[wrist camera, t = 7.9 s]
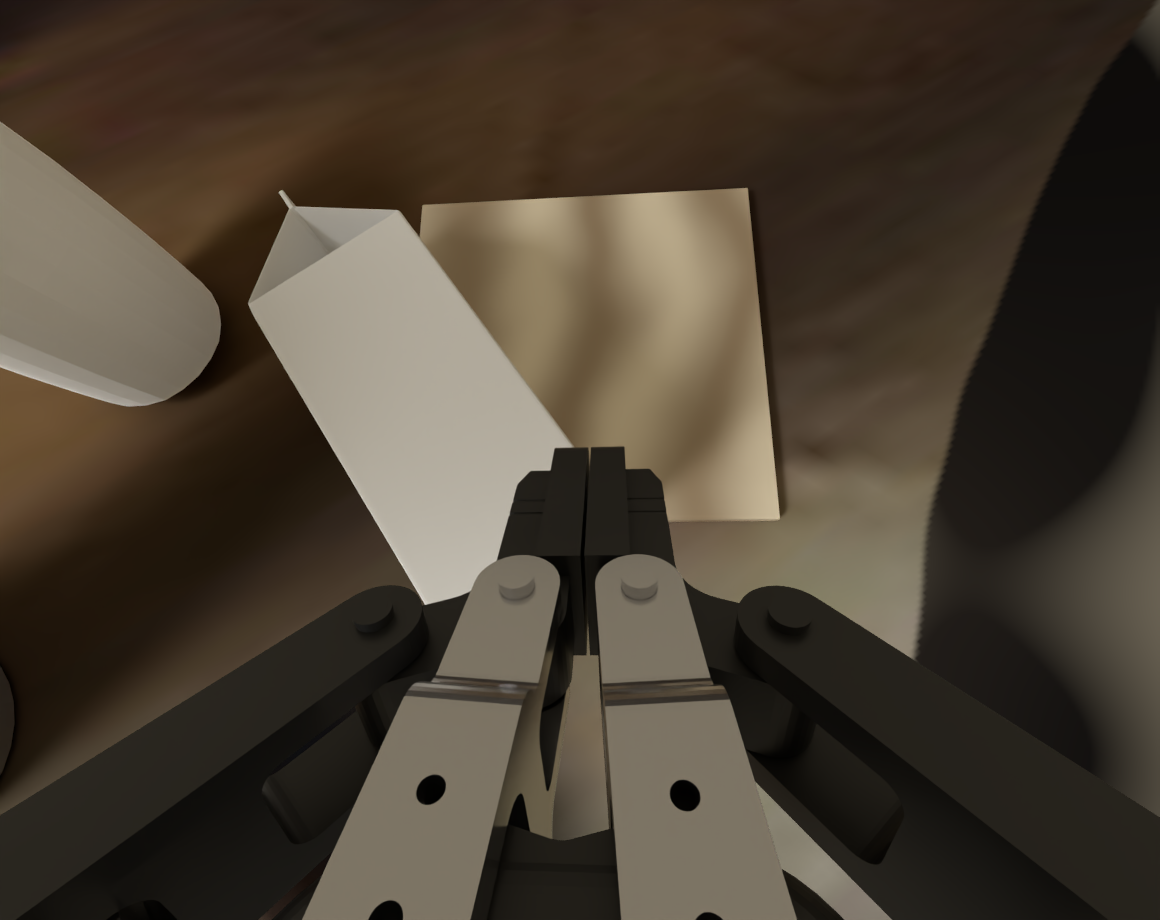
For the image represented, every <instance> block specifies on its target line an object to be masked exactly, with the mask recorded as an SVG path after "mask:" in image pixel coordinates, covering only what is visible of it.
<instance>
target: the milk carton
mask: <svg viewBox="0 0 1160 920" xmlns="http://www.w3.org/2000/svg"><path fill="white" fill-rule="evenodd" d="M279 194H280V196H281V197H282V198H283V200H284V201H285V203H286V204H287V206H288V207H289V210H288V213H287V215H286V217H285V219H284V222H283V224H282V226H281V229H280V231H279V233H278V235H277V238H276V240H275V242H274V244H273V247H272V249H271V251H270V254H269V256H268V258H267V260H266V263H265V265H264V267H263V269H262V272H261V274H260V276H259V279H258V281H257V283H256V285H255V288H254V290H253V292H252V295H251V297H250V299H249V302H248V305H249V307H250V309H251V312H252V314H253V316H254V317H255V319H256V321H257V323H258V324H259V326H260V328H261V330H262V331H263V333H264V335H265V336H266V338H267V340H268V341H269V343H270V345H271V346H272V348H273V350H274V351H275V353H276V355H277V357H278V358H279V360H280V362H281V363H282V365H283V367H284V368H285V370H286V372H287V373H288V375H289V377H290V378H291V380H292V382H293V383H294V385H295V387H296V388H297V390H298V392H299V393H300V395H301V397H302V399H303V400H304V402H305V404H306V405H307V407H308V409H309V410H310V412H311V414H312V415H313V417H314V419H315V420H316V422H317V424H318V425H319V427H320V429H321V430H322V432H323V434H324V435H325V437H326V439H327V441H328V442H329V444H330V446H331V447H332V449H333V451H334V452H335V454H336V456H337V457H338V459H339V461H340V462H341V464H342V466H343V467H344V469H345V471H346V472H347V474H348V476H349V477H350V479H351V481H352V483H353V484H354V486H355V488H356V489H357V491H358V493H359V494H360V496H361V498H362V499H363V501H364V503H365V504H366V506H367V508H368V509H369V511H370V513H371V514H372V516H373V518H374V520H375V521H376V523H377V525H378V526H379V528H380V530H381V531H382V533H383V535H384V536H385V538H386V540H387V541H388V543H389V545H390V546H391V548H392V550H393V551H394V553H395V555H396V556H397V558H398V560H399V562H400V563H401V565H402V567H403V568H404V570H405V572H406V573H407V575H408V577H409V578H410V580H411V582H412V583H413V585H414V587H415V588H416V590H417V592H418V593H419V595H420V597H421V598H422V600H423V602H424V604H425V605H427V604H431V603H435V602H439V601H443V600H447V599H451V598H454V597H458V596H460V595H463V594H465V593H468V592H469V591H471V589H472V587H473V584H474V582H475V580H476V578H477V576H478V575H479V574H480V573H481V571H483V570H484V569H485V568H486V567H487V566H489V565H490V564H492V563H494V562H496V561H497V557H498V554H499V550H500V546H501V543H502V539H503V535H504V532H505V528H506V524H507V521H508V517H509V516H510V510H511V506H512V503H513V499H514V495H515V491H516V488H517V484H518V483H519V482H520V481H521V480H522V479H523V478H524V477H525V476H526V475H527V474H528V473H529V472H530V471H549V470H551V465H552V459H553V454H554V449H555V448H570V447H574V446H573V444H572V443H571V442H570V440H569V439H568V438H567V436H566V435H565V434H564V432H563V431H562V429H561V428H560V427H559V425H558V424H557V423H556V421H555V420H554V419H553V417H552V416H551V415H550V413H549V412H548V411H547V409H546V408H545V406H544V405H543V404H542V402H541V401H540V400H539V398H538V397H537V396H536V394H535V393H534V392H533V390H532V389H531V388H530V386H529V385H528V383H527V382H526V381H525V379H524V378H523V377H522V375H521V374H520V373H519V371H518V370H517V369H516V367H515V366H514V365H513V363H512V362H511V361H510V359H509V358H508V356H507V355H506V354H505V352H504V351H503V350H502V348H501V347H500V346H499V344H498V343H497V342H496V340H495V339H494V338H493V336H492V335H491V333H490V332H489V331H488V329H487V328H486V327H485V325H484V324H483V323H482V321H481V320H480V319H479V317H478V316H477V315H476V313H475V312H474V310H473V309H472V308H471V306H470V305H469V304H468V302H467V301H466V300H465V298H464V297H463V296H462V294H461V293H460V292H459V290H458V289H457V287H456V286H455V285H454V283H453V282H452V281H451V279H450V278H449V277H448V275H447V274H446V273H445V271H444V270H443V269H442V267H441V266H440V264H439V263H438V262H437V260H436V259H435V258H434V256H433V255H432V254H431V252H430V251H429V250H428V248H427V247H426V246H425V244H424V243H423V242H422V240H421V239H420V237H419V236H418V235H417V233H416V232H415V231H414V229H413V228H412V227H411V225H410V224H409V223H408V221H407V220H406V219H405V217H404V216H403V214H402V213H401V212H400V211H399V210H380V209H351V208H322V207H296V206H295V204H294V203H293V202H292V201H291V200H290V198H289V197H288V196H287V195H286V193H285V192H284V191H283V190H281V191H279Z"/></svg>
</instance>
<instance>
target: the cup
mask: <svg viewBox="0 0 1160 920" xmlns="http://www.w3.org/2000/svg"><path fill="white" fill-rule="evenodd" d="M220 329H221V320H220V313H219V307H218V305H217V303H216V301H215V299H214V297H213V295H212V293H211V292H210V291H209V290H208V289H207V288H206V287H205V285H204V284H203V283H202V282H201V281H200V280H199V279H197V278H196V277H195V276H194V275H193V274H192V273H191V272H190V271H188V270H187V269H186V268H185V267H184V266H183V265H182V264H181V263H180V262H178V261H177V260H176V259H175V258H174V257H172V256H171V255H170V254H169V253H168V252H167V251H165V250H164V249H163V248H162V247H161V246H160V245H158V244H157V243H156V242H155V241H154V240H153V239H151V238H150V237H149V236H148V235H147V234H145V233H144V232H143V231H142V230H141V229H139V228H138V227H137V226H136V225H134V224H133V223H132V222H131V221H130V220H128V219H127V218H126V217H125V216H123V215H122V214H121V213H120V212H118V211H117V210H116V209H115V208H114V207H112V206H111V205H110V204H109V203H107V202H106V201H105V200H104V199H102V198H101V197H100V196H99V195H97V194H96V193H95V192H93V191H92V190H91V189H90V188H88V187H87V186H86V185H84V184H83V183H82V182H81V181H79V180H78V179H77V178H76V177H74V176H73V175H72V174H70V173H69V172H68V171H67V170H65V169H64V168H63V167H61V166H60V165H59V164H58V163H56V162H55V161H54V160H52V159H51V158H50V157H48V156H47V155H46V154H44V153H43V152H41V151H40V150H39V149H37V148H36V147H35V146H33V145H32V144H30V143H29V142H28V141H26V140H25V139H23V138H22V137H21V136H19V135H18V134H17V133H15V132H14V131H12V130H11V129H10V128H8V127H7V126H6V125H4V124H3V123H1V122H0V367H1V368H4V369H7V370H10V371H13V372H15V373H18V374H21V375H24V376H27V377H30V378H33V379H36V380H39V381H42V382H45V383H49V384H52V385H55V386H58V387H61V388H64V389H67V390H70V391H73V392H76V393H79V394H83V395H86V396H90V397H93V398H96V399H100V400H103V401H106V402H110V403H114V404H118V405H123V406H127V407H129V406H144V405H150V404H154V403H157V402H161V401H165V400H167V399H168V398H170V397H172V396H173V395H175V394H177V393H178V392H180V391H182V390H183V389H184V388H185V387H187V386H188V385H189V384H190V383H191V382H192V381H193V380H194V379H196V378H197V377H198V376H199V375H200V373H201V372H202V371H203V369H204V368H205V367H206V365H207V364H208V362H209V361H210V360H211V358H212V356H213V354H214V351H215V349H216V347H217V345H218V343H219V338H220Z"/></svg>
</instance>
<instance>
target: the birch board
mask: <svg viewBox="0 0 1160 920" xmlns="http://www.w3.org/2000/svg"><path fill="white" fill-rule="evenodd" d="M420 239H421V240H422V242H423V243H424V244H425V246H426V247H427V248H428V250H429V251H430V252H431V254H432V255H433V256H434V258H435V259H436V260H437V262H438V263H439V264H440V266H441V267H442V269H443V270H444V271H445V273H446V274H447V275H448V277H449V278H450V279H451V281H452V282H453V283H454V285H455V286H456V287H457V289H458V290H459V292H460V293H461V294H462V296H463V297H464V298H465V300H466V301H467V302H468V304H469V305H470V306H471V308H472V309H473V310H474V312H475V313H476V315H477V316H478V317H479V319H480V320H481V321H482V323H483V324H484V325H485V327H486V328H487V329H488V331H489V332H490V333H491V335H492V336H493V338H494V339H495V340H496V342H497V343H498V344H499V346H500V347H501V348H502V350H503V351H504V352H505V354H506V355H507V356H508V358H509V359H510V361H511V362H512V363H513V365H514V366H515V367H516V369H517V370H518V371H519V373H520V374H521V375H522V377H523V378H524V379H525V381H526V382H527V383H528V385H529V386H530V388H531V389H532V390H533V392H534V393H535V394H536V396H537V397H538V398H539V400H540V401H541V402H542V404H543V405H544V406H545V408H546V409H547V411H548V412H549V413H550V415H551V416H552V417H553V419H554V420H555V421H556V423H557V424H558V425H559V427H560V428H561V429H562V431H563V432H564V434H565V435H566V436H567V438H568V439H569V440H570V442H571V443H572V444H573V446H574V447H588V448H589V461H590V454H591V447H615V446H624V447H625V465H626V469H651V471H652V472H653V473H654V474H655V475H656V476H657V477H658V478H659V479H660V480H661V482H662V486H663V492H664V501H665V505H666V514H667V517H668V522H716V521H777V520H779V519H780V514H779V504H778V494H777V483H776V473H775V463H774V453H773V443H772V432H771V422H770V412H769V402H768V392H767V381H766V371H765V361H764V351H763V340H762V330H761V320H760V310H759V300H758V289H757V279H756V269H755V259H754V249H753V238H752V228H751V218H750V208H749V198H748V188H738V189H719V190H700V191H681V192H661V193H642V194H623V195H604V196H585V197H566V198H547V199H528V200H509V201H489V202H470V203H451V204H432V205H422V216H421V228H420Z"/></svg>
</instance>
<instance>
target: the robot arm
mask: <svg viewBox="0 0 1160 920" xmlns="http://www.w3.org/2000/svg"><path fill="white" fill-rule="evenodd" d="M588 627H589V644H590V655H598V656H599V676H600V700H601V714H602V729H603V744H604V758H605V773H606V788H607V802H608V818H609V829H608V830H604V831H601V832H597V833H593V834H589V835H586V836H582V837H578V838H575V839H571V840H565V841H560V840H554V839H552V816H553V804H554V797H555V790H556V784H557V777H558V771H559V764H560V758H561V751H562V745H563V738H564V732H565V726H566V719H567V713H568V706H569V700H570V682H571V678H572V669H573V655H586V653H587V631H588ZM353 707H356V710H357V711H356V712H355V713H354V714H352V715H351V716H350V717H348V718H347V719H346V720H345V721H343V722H342V723H341V724H339V725H338V726H337V727H336V728H334V729H333V730H332V731H330V732H329V733H328V734H326V735H325V736H324V737H323V738H321V739H320V740H319V741H317V742H316V743H315V744H314V745H312V746H311V747H310V748H308V749H307V750H306V751H305V752H303V753H302V754H301V755H299V756H298V757H297V758H295V759H294V760H293V761H292V762H290V763H289V764H288V765H286V766H285V767H284V768H283V769H281V770H280V771H278V772H277V773H275V774H273V775H271V776H269V775H270V774H271V773H272V771H273V770H274V769H275V768H276V767H277V766H278V765H279V764H280V763H282V762H283V761H284V760H285V759H287V758H288V757H289V756H291V755H292V754H293V753H294V752H296V751H297V750H298V749H300V748H301V747H302V746H304V745H305V744H306V743H308V742H309V741H310V740H311V739H313V738H314V737H315V736H317V735H318V734H319V733H321V732H322V731H323V730H325V729H326V728H327V727H328V726H330V725H331V724H332V723H334V722H335V721H336V720H338V719H339V718H340V717H342V716H343V715H344V714H345V713H347V712H348V711H349V710H351V709H352V708H353ZM13 730H14V701H13V697H12V693H11V689H10V685H9V682H8V680H7V678H6V676H5V674H4V672H3V670H2V669H1V667H0V775H1V773H2V771H3V769H4V766H5V763H6V760H7V757H8V754H9V751H10V748H11V743H12V736H13ZM268 776H269V777H268ZM755 782H756V783H757V784H758V785H759V786H760V787H761V788H762V789H763V790H764V791H765V792H766V793H767V794H768V795H769V796H770V797H771V798H772V799H773V800H774V801H775V802H776V803H777V804H778V805H779V806H780V807H781V808H782V809H783V810H784V811H785V812H786V813H787V814H788V815H789V816H790V817H791V818H792V819H793V820H794V821H795V822H796V823H797V824H798V825H799V826H800V827H801V828H802V829H803V830H804V831H805V832H806V833H807V834H808V835H809V836H810V837H811V838H812V839H813V840H814V841H815V842H816V843H817V844H818V845H819V846H820V847H821V848H822V849H823V850H824V851H825V852H826V853H827V854H828V855H829V856H830V857H831V858H832V859H833V860H834V861H835V862H836V863H837V864H838V865H839V866H840V867H841V868H842V869H843V870H844V871H845V872H846V873H847V875H848V876H849V877H850V878H851V879H852V880H853V881H854V882H855V883H856V884H857V885H858V886H859V887H860V888H861V889H862V890H863V891H864V892H865V893H866V894H867V895H868V896H869V897H870V898H871V899H872V900H873V901H874V902H875V903H876V904H877V905H878V906H879V907H880V908H881V909H882V910H883V911H884V912H885V913H886V914H887V915H888V916H889V917H890V918H891V919H892V920H1160V817H1158V816H1156V815H1155V814H1153V813H1152V812H1150V811H1149V810H1147V809H1146V808H1144V807H1143V806H1141V805H1139V804H1138V803H1136V802H1135V801H1133V800H1132V799H1130V798H1128V797H1127V796H1125V795H1124V794H1122V793H1121V792H1119V791H1117V790H1116V789H1114V788H1113V787H1111V786H1110V785H1108V784H1107V783H1105V782H1103V781H1102V780H1100V779H1099V778H1097V777H1096V776H1094V775H1093V774H1091V773H1089V772H1088V771H1086V770H1085V769H1083V768H1082V767H1080V766H1078V765H1077V764H1075V763H1074V762H1072V761H1071V760H1069V759H1068V758H1066V757H1064V756H1063V755H1061V754H1060V753H1058V752H1057V751H1055V750H1053V749H1052V748H1050V747H1049V746H1047V745H1046V744H1044V743H1042V742H1041V741H1039V740H1038V739H1036V738H1034V737H1033V736H1031V735H1030V734H1028V733H1027V732H1025V731H1024V730H1022V729H1021V728H1019V727H1018V726H1016V725H1014V724H1013V723H1011V722H1010V721H1008V720H1007V719H1005V718H1003V717H1002V716H1000V715H999V714H997V713H996V712H994V711H993V710H991V709H989V708H988V707H986V706H985V705H983V704H981V703H980V702H978V701H977V700H975V699H974V698H972V697H971V696H969V695H967V694H966V693H964V692H963V691H961V690H960V689H958V688H957V687H955V686H953V685H952V684H950V683H949V682H947V681H945V680H944V679H943V678H941V677H939V676H938V675H936V674H935V673H933V672H932V671H930V670H928V669H927V668H925V667H924V666H922V665H921V664H919V663H918V662H916V661H914V660H913V659H911V658H910V657H908V656H907V655H905V654H903V653H902V652H900V651H899V650H897V649H896V648H894V647H893V646H891V645H889V644H888V643H886V642H885V641H883V640H882V639H880V638H878V637H877V636H875V635H874V634H872V633H871V632H869V631H868V630H866V629H864V628H863V627H861V626H860V625H858V624H857V623H855V622H853V621H852V620H850V619H849V618H847V617H846V616H844V615H842V614H841V613H839V612H838V611H836V610H835V609H833V608H832V607H830V606H828V605H827V604H825V603H824V602H822V601H821V600H819V599H817V598H816V597H814V596H812V595H810V594H808V593H806V592H804V591H801V590H798V589H795V588H790V587H785V586H766V587H761V588H758V589H755V590H753V591H751V592H749V593H748V594H747V595H745V596H744V597H743V599H742V600H741V601H740V603H736V602H732V601H728V600H724V599H720V598H716V597H713V596H709V595H707V594H705V593H702V592H700V591H698V590H697V589H695V588H693V587H692V586H691V585H689V584H688V583H687V582H686V581H685V580H684V579H683V578H682V576H681V575H680V573H679V572H678V570H677V569H676V566H675V562H674V555H673V549H672V543H671V536H670V530H669V524H668V517H667V514H666V505H665V501H664V492H663V486H662V482H661V480H660V479H659V478H658V477H657V476H656V475H655V474H654V473H653V472H652V471H651V469H626V465H625V447H624V446H615V447H591V454H590V461H589V448H588V447H570V448H555V449H554V454H553V459H552V465H551V470H549V471H530V472H529V473H528V474H527V475H526V476H525V477H524V478H523V479H522V480H521V481H520V482H519V483H518V484H517V488H516V491H515V495H514V499H513V503H512V506H511V510H510V516H509V517H508V521H507V524H506V528H505V532H504V535H503V539H502V543H501V546H500V550H499V554H498V557H497V561H496V562H494V563H492V564H490V565H489V566H487V567H486V568H485V569H484V570H483V571H481V573H480V574H479V575H478V576H477V578H476V580H475V582H474V584H473V587H472V589H471V591H469V592H468V593H465V594H463V595H460V596H458V597H454V598H451V599H447V600H443V601H439V602H435V603H431V604H427V605H423V606H422V604H421V600H420V599H419V597H418V595H417V594H416V593H415V592H413V591H412V590H410V589H408V588H405V587H401V586H392V585H389V586H380V587H375V588H372V589H368V590H365V591H363V592H361V593H359V594H357V595H355V596H353V597H351V598H350V599H348V600H346V601H345V602H343V603H342V604H340V605H338V606H337V607H335V608H334V609H332V610H330V611H329V612H327V613H326V614H324V615H322V616H321V617H319V618H317V619H316V620H314V621H313V622H311V623H309V624H308V625H306V626H305V627H303V628H301V629H300V630H298V631H297V632H295V633H293V634H292V635H290V636H288V637H287V638H285V639H284V640H282V641H280V642H279V643H277V644H276V645H274V646H272V647H271V648H269V649H268V650H266V651H264V652H263V653H261V654H259V655H258V656H256V657H255V658H253V659H251V660H250V661H248V662H247V663H245V664H243V665H242V666H240V667H239V668H237V669H235V670H234V671H232V672H230V673H229V674H227V675H226V676H224V677H222V678H221V679H219V680H218V681H216V682H214V683H213V684H211V685H210V686H208V687H206V688H205V689H203V690H201V691H200V692H198V693H197V694H195V695H193V696H192V697H190V698H189V699H187V700H185V701H184V702H182V703H181V704H179V705H177V706H176V707H174V708H172V709H171V710H169V711H168V712H166V713H164V714H163V715H161V716H160V717H158V718H156V719H155V720H153V721H152V722H150V723H148V724H147V725H145V726H143V727H142V728H140V729H139V730H137V731H135V732H134V733H132V734H131V735H129V736H127V737H126V738H124V739H123V740H121V741H119V742H118V743H116V744H114V745H113V746H111V747H110V748H108V749H106V750H105V751H103V752H102V753H100V754H98V755H97V756H95V757H94V758H92V759H90V760H89V761H87V762H86V763H84V764H82V765H81V766H79V767H77V768H76V769H74V770H73V771H71V772H69V773H68V774H66V775H65V776H63V777H61V778H60V779H58V780H57V781H55V782H53V783H52V784H50V785H48V786H47V787H45V788H44V789H42V790H40V791H39V792H37V793H36V794H34V795H32V796H31V797H29V798H28V799H26V800H24V801H23V802H21V803H19V804H18V805H16V806H15V807H13V808H11V809H10V810H8V811H7V812H5V813H3V814H2V815H0V920H258V919H259V918H260V917H261V916H263V915H264V914H265V913H266V912H267V911H268V910H269V909H270V908H271V907H272V906H273V905H274V904H276V903H277V902H278V901H279V900H280V899H281V898H282V897H283V896H284V895H285V894H286V893H287V892H288V891H290V890H291V889H292V888H293V887H294V886H295V885H296V884H297V883H298V882H299V881H300V880H301V879H302V878H304V877H305V876H306V875H307V874H308V873H309V872H310V871H311V870H312V869H313V868H314V867H315V866H317V865H318V864H319V863H320V862H321V861H322V860H323V859H324V858H325V857H326V856H327V855H328V854H329V853H331V852H332V851H333V850H334V851H333V853H332V855H331V857H330V860H329V862H328V864H327V866H326V868H325V871H324V873H323V875H322V876H321V877H319V878H318V879H317V880H315V881H314V882H313V883H312V884H311V885H309V886H308V887H307V888H306V889H304V890H303V891H302V892H301V893H300V894H298V895H297V896H296V897H295V898H294V899H293V900H292V901H291V902H290V903H289V904H288V905H287V906H286V907H285V908H284V909H283V910H281V911H280V912H279V913H278V914H277V915H276V916H275V917H274V918H273V919H272V920H844V919H843V918H842V917H841V916H840V915H839V914H838V913H837V912H836V911H835V910H834V909H833V908H832V907H831V906H829V905H828V904H827V903H826V902H825V901H824V900H823V899H822V898H821V897H820V896H819V895H818V894H817V893H815V892H814V891H813V890H811V889H810V888H809V887H807V886H806V885H805V884H803V883H802V882H801V881H800V880H798V879H797V878H796V877H794V876H792V875H791V874H789V873H788V872H786V871H784V870H783V869H781V866H780V862H779V859H778V856H777V852H776V849H775V846H774V842H773V839H772V836H771V833H770V829H769V826H768V823H767V819H766V816H765V813H764V810H763V806H762V803H761V800H760V796H759V793H758V790H757V787H756V783H755Z"/></svg>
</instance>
